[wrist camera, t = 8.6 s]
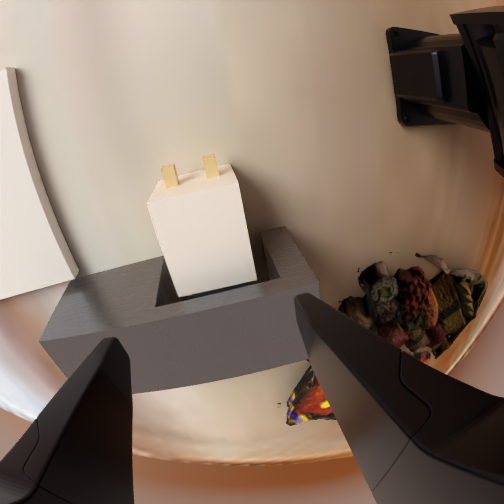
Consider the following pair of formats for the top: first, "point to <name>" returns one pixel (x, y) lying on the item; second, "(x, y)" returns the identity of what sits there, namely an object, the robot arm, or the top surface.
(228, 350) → the grey notched block
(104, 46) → the top surface
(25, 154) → the white mat
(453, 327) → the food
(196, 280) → the plug
